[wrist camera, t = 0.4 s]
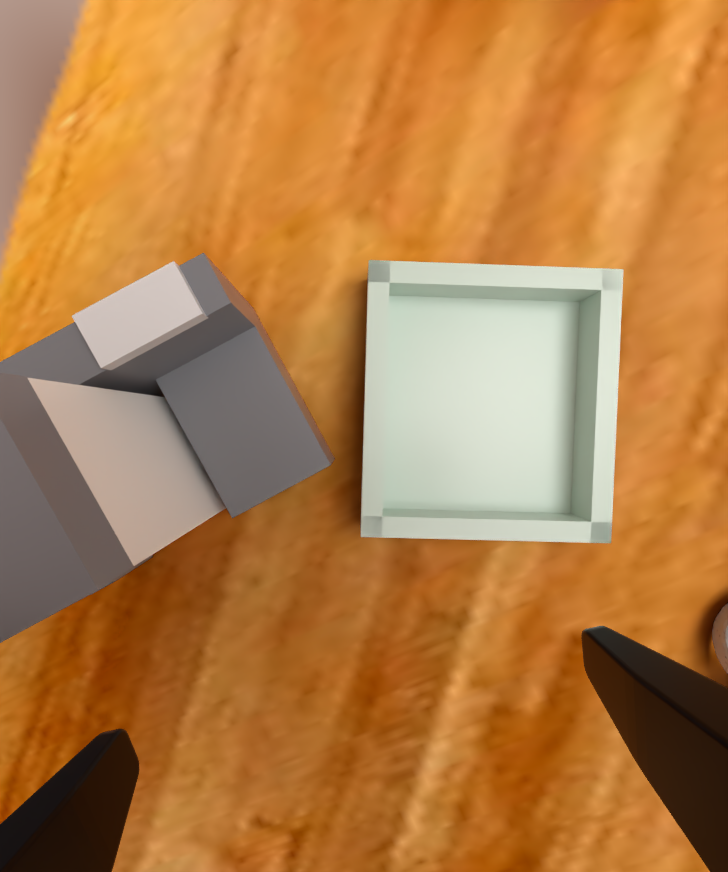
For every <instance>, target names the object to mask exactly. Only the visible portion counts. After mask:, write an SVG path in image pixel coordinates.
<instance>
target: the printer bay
mask: <svg viewBox="0 0 728 872" xmlns="http://www.w3.org/2000/svg"><path fill="white" fill-rule="evenodd" d="M72 317H73V319H74V321H75V322H74V323H72V324H70V325H68V326H67V327H65V328H63V329H61V330H59V331H57V332H55V333H54V334H52V335H50V336H48V337H46V338H44V339H42V340H41V341H39V342H37V343H35V344H33V345H31V346H29V347H28V348H26V349H24V350H22V351H20V352H18V353H16V354H15V355H13V356H11V357H9V358H7V359H5V360H3V361H2V362H0V373H7V374H13V375H20V376H27V378H34V379H41V380H48V381H55V382H62V383H69V384H76V385H83V386H90V387H97V388H104V389H111V390H118V391H125V392H132V393H139V394H146V395H153V396H160V397H165V398H166V400H167V401H168V403H169V405H170V407H171V409H172V410H173V412H174V414H175V416H176V418H177V419H178V421H179V423H180V425H181V427H182V428H183V430H184V432H185V434H186V436H187V437H188V439H189V441H190V443H191V445H192V446H193V448H194V450H195V452H196V454H197V455H198V457H199V459H200V461H201V463H202V464H203V466H204V468H205V470H206V472H207V473H208V475H209V477H210V479H211V481H212V483H213V484H214V486H215V488H216V490H217V492H218V493H219V495H220V497H221V499H222V501H223V502H224V504H225V506H226V508H227V510H228V511H229V513H230V515H231V517H232V518H234V517H236V516H237V515H239V514H241V513H243V512H245V511H247V510H248V509H250V508H252V507H254V506H256V505H258V504H260V503H261V502H263V501H265V500H267V499H269V498H271V497H273V496H274V495H276V494H278V493H280V492H282V491H284V490H286V489H287V488H289V487H291V486H293V485H295V484H297V483H299V482H300V481H302V480H304V479H306V478H308V477H310V476H312V475H313V474H315V473H317V472H319V471H321V470H323V469H325V468H326V467H328V466H330V465H331V464H332V462H333V461H334V459H335V458H334V456H333V454H332V452H331V451H330V449H329V447H328V445H327V443H326V441H325V439H324V438H323V436H322V434H321V432H320V430H319V428H318V427H317V425H316V423H315V421H314V419H313V417H312V416H311V414H310V412H309V410H308V408H307V406H306V404H305V403H304V401H303V399H302V397H301V395H300V393H299V392H298V390H297V388H296V386H295V384H294V382H293V380H292V379H291V377H290V375H289V373H288V371H287V369H286V368H285V366H284V364H283V362H282V360H281V358H280V357H279V355H278V353H277V351H276V349H275V347H274V345H273V344H272V342H271V340H270V338H269V336H268V334H267V333H266V331H265V329H264V327H263V325H262V323H261V322H260V320H259V318H258V316H257V314H256V312H255V310H254V309H253V307H252V306H251V305H250V304H249V303H248V302H247V301H246V300H245V298H244V297H243V296H242V295H241V294H240V293H239V292H238V291H237V290H236V288H235V287H234V286H233V285H232V284H231V283H230V282H229V281H228V279H227V278H226V277H225V276H224V275H223V274H222V273H221V272H220V270H219V269H218V268H217V267H216V266H215V265H214V264H213V263H212V261H211V260H210V259H209V258H208V257H207V256H206V255H205V254H204V253H202V254H200V255H198V256H197V257H195V258H193V259H191V260H189V261H187V262H185V263H184V264H182V265H180V266H179V265H177V264H176V263H175V262H174V261H173V262H171V263H169V264H167V265H165V266H163V267H162V268H160V269H158V270H156V271H154V272H152V273H150V274H149V275H147V276H145V277H143V278H141V279H139V280H137V281H136V282H134V283H132V284H130V285H128V286H126V287H124V288H123V289H121V290H119V291H117V292H115V293H113V294H111V295H110V296H108V297H106V298H104V299H102V300H100V301H98V302H97V303H95V304H93V305H91V306H89V307H87V308H85V309H84V310H82V311H80V312H78V313H76V314H74V315H72ZM152 557H153V556H152V555H151V556H149V557H148V558H146V559H145V560H143V561H142V562H140V563H138V564H137V565H135V566H134V568H132V569H130V570H129V571H127V572H126V573H124V574H123V575H121V576H119V577H118V578H116V579H115V580H113V581H112V582H110V583H108V584H107V585H105V586H104V587H106V586H108V585H109V584H111V583H113V582H115V581H116V580H118V579H120V578H121V577H123V576H124V575H126V574H127V573H129V572H130V571H132V570H133V569H135V568H137V567H138V566H140V565H141V564H143V563H144V562H146V561H147V560H149V559H151V558H152ZM104 587H102V588H104ZM102 588H101V589H102ZM99 590H100V589H99ZM97 591H98V590H97ZM95 592H96V591H95ZM95 592H94V593H95ZM92 594H93V593H92ZM90 595H91V594H90Z"/></svg>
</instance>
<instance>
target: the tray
mask: <svg viewBox="0 0 728 872" xmlns="http://www.w3.org/2000/svg"><path fill="white" fill-rule="evenodd" d="M622 289H623V269H601V268H573V267H545V266H518V265H490V264H462V263H434V262H407V261H379V260H369V266H368V281H367V316H366V350H365V384H364V418H363V452H362V487H361V521H360V528H361V537H383V538H423V539H464V540H504V541H544V542H585V543H611V532H612V510H613V488H614V466H615V444H616V422H617V400H618V377H619V355H620V333H621V311H622Z"/></svg>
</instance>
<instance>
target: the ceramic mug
mask: <svg viewBox="0 0 728 872" xmlns="http://www.w3.org/2000/svg"><path fill="white" fill-rule="evenodd" d="M712 639H713V644H714V649H715V653H716V655H717V658H718V660H719V662H720V663H721V665H722V667H723V668H724V670H725V671H726V673H727V674H728V603H727V604H726V605H725V606H724V607H723V608H722V609H721V611H720V612H719V613H718V615H717V616H716V618H715V620H714V624H713V629H712Z"/></svg>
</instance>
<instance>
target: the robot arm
mask: <svg viewBox="0 0 728 872" xmlns="http://www.w3.org/2000/svg"><path fill="white" fill-rule="evenodd" d="M582 649H583V660H584V667H585V671H586V673H587V676H588V678H589V680H590V681H591V683H592V685H593V687H594V689H595V690H596V692H597V694H598V696H599V697H600V699H601V701H602V703H603V705H604V706H605V708H606V710H607V712H608V713H609V715H610V717H611V719H612V720H613V722H614V724H615V726H616V728H617V729H618V731H619V733H620V735H621V736H622V738H623V740H624V742H625V744H626V745H627V747H628V749H629V751H630V752H631V754H632V756H633V757H634V759H635V761H636V762H637V764H638V766H639V767H640V769H641V770H642V772H643V773H644V775H645V776H646V778H647V780H648V781H649V782H650V784H651V785H652V787H653V788H654V790H655V791H656V793H657V794H658V796H659V797H660V799H661V800H662V802H663V803H664V804H665V806H666V807H667V809H668V810H669V812H670V813H671V815H672V816H673V818H674V819H675V821H676V822H677V824H678V825H679V826H680V828H681V829H682V831H683V832H684V834H685V835H686V837H687V838H688V840H689V841H690V843H691V844H692V846H693V847H694V848H695V850H696V851H697V853H698V854H699V856H700V857H701V859H702V860H703V862H704V863H705V865H706V866H707V868H708V869H709V870H710V872H728V688H727V687H725V686H723V685H721V684H719V683H717V682H715V681H713V680H711V679H709V678H707V677H705V676H703V675H701V674H699V673H697V672H695V671H693V670H691V669H689V668H687V667H685V666H683V665H681V664H679V663H677V662H675V661H674V660H672V659H670V658H668V657H666V656H664V655H662V654H660V653H658V652H656V651H654V650H652V649H650V648H648V647H646V646H644V645H642V644H640V643H638V642H636V641H634V640H632V639H630V638H628V637H626V636H624V635H622V634H620V633H618V632H616V631H614V630H612V629H610V628H607V627H605V626H597V627H593V628H588V629H585V630H583V631H582ZM138 774H139V760H138V757H137V755H136V752H135V750H134V748H133V745H132V743H131V740H130V738H129V735H128V733H127V731H125V730H124V729H116V730H111V731H106V732H103V733H101V734H99V735H98V736H97V737H95V738H94V739H93V740H92V741H91V742H90V743H89V744H88V745H87V746H86V747H84V748H83V749H82V750H81V751H80V752H79V753H78V754H77V755H76V756H75V757H74V758H72V759H71V760H70V761H69V762H68V763H67V764H66V765H65V766H64V767H63V768H61V769H60V770H59V771H58V772H57V773H56V774H55V775H54V776H53V777H52V778H51V779H49V780H48V781H47V782H46V783H45V784H44V785H43V786H42V787H41V788H40V789H38V790H37V791H36V792H35V793H34V794H33V795H32V796H31V797H30V798H29V799H28V800H26V801H25V802H24V803H23V804H22V805H21V806H20V807H19V808H18V809H17V810H16V811H14V812H13V813H12V814H11V815H10V816H9V817H8V818H7V819H6V820H5V821H3V822H2V823H1V824H0V872H112V869H113V865H114V862H115V858H116V855H117V851H118V848H119V844H120V840H121V837H122V833H123V829H124V826H125V822H126V819H127V815H128V811H129V808H130V804H131V800H132V797H133V793H134V790H135V786H136V782H137V779H138Z"/></svg>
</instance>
